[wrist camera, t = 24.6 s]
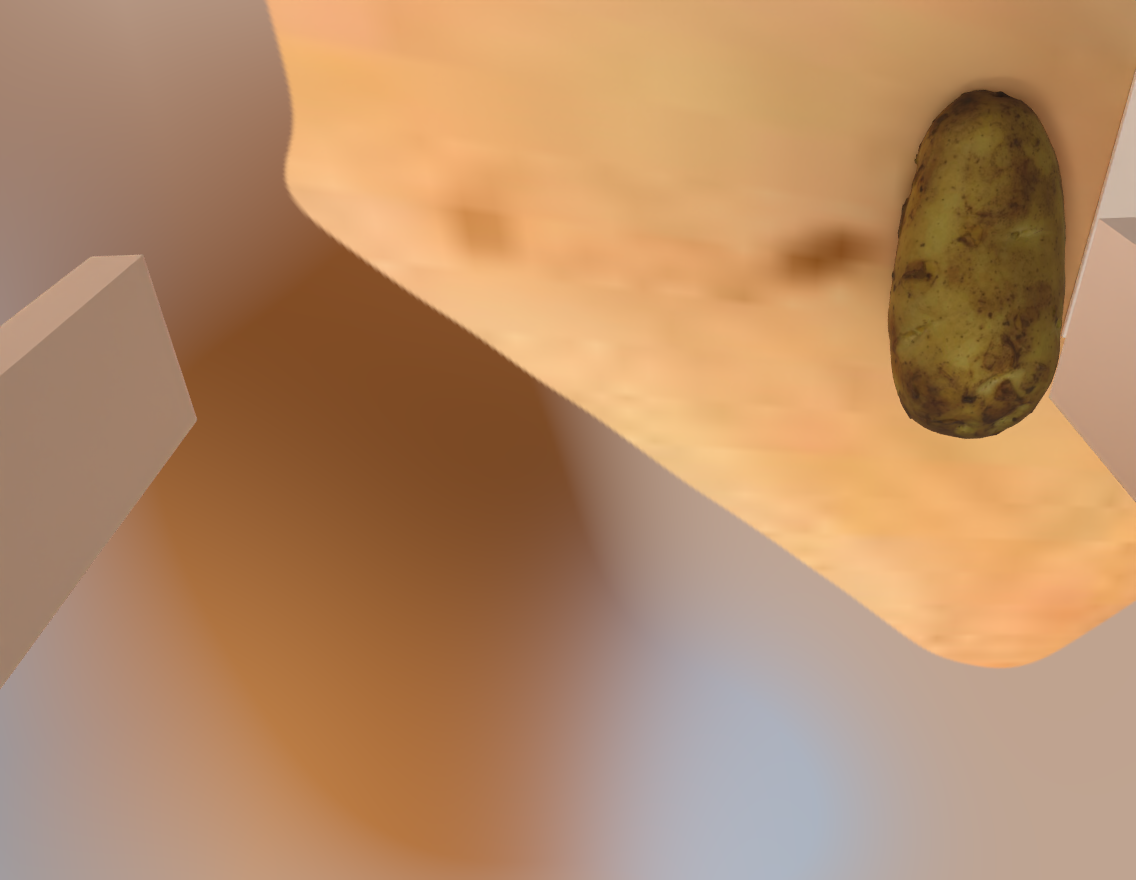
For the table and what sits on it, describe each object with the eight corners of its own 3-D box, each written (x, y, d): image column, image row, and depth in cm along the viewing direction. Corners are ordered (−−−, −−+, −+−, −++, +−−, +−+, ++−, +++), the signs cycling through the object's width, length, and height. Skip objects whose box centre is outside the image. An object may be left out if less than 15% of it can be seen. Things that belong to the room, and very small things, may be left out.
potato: (1120, 120, 36) (1236, 178, 30) (966, 385, 43) (1032, 481, 37) (931, 64, 35) (1007, 112, 29) (805, 344, 42) (843, 435, 36)
